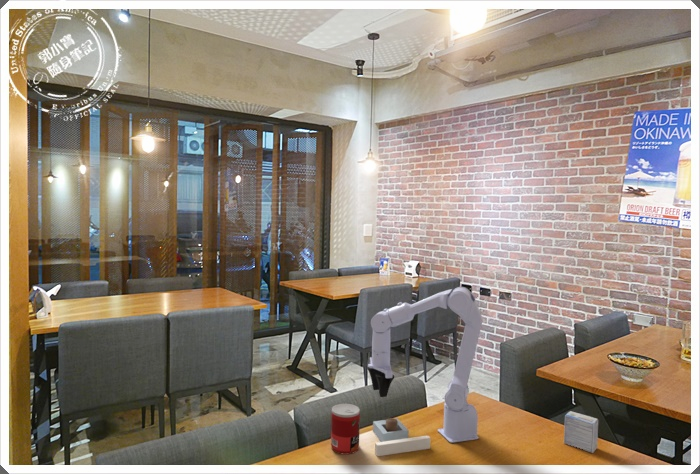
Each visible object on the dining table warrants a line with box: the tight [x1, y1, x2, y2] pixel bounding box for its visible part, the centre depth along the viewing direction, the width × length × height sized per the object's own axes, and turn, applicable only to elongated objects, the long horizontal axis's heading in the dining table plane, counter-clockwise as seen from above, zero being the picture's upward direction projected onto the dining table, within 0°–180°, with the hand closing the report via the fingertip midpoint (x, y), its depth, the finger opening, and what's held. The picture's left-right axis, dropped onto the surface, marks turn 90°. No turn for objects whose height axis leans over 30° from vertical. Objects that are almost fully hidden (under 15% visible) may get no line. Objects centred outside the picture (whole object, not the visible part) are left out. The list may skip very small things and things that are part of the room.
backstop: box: [374, 434, 431, 457], centre depth 126 cm, size 16×2×3 cm, turn 108°
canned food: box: [330, 403, 361, 455], centre depth 126 cm, size 8×8×11 cm
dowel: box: [385, 417, 398, 432], centre depth 133 cm, size 3×3×5 cm
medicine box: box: [563, 410, 599, 454], centre depth 131 cm, size 8×4×9 cm, turn 47°
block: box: [372, 418, 410, 442], centre depth 134 cm, size 8×8×3 cm
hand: (379, 393), depth 142 cm, fingers open, 5 cm apart
